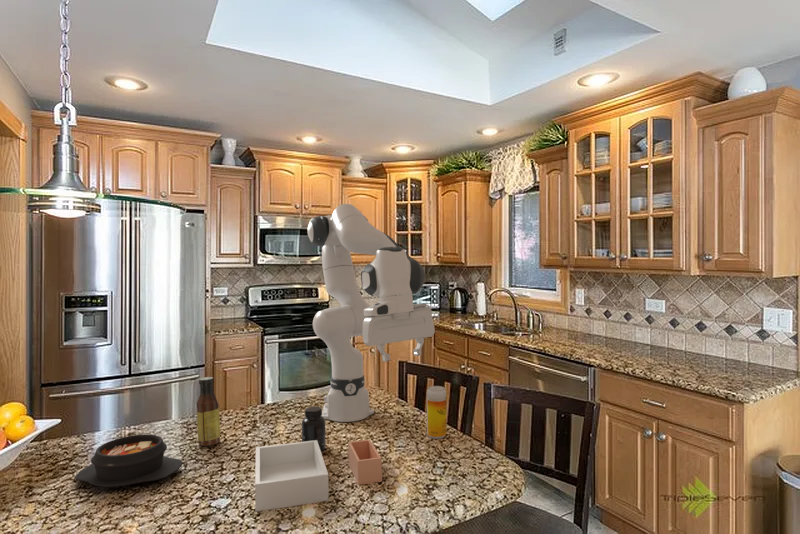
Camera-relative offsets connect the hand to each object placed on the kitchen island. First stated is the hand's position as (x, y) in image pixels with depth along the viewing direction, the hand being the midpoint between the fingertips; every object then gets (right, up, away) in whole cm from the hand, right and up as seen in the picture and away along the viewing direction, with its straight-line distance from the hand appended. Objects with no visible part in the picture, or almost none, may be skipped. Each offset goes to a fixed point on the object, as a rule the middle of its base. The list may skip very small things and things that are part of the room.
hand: (402, 358), depth 125 cm
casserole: (-70, -30, -4) cm, 76 cm away
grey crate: (-28, -29, -9) cm, 41 cm away
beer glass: (+11, -29, +22) cm, 38 cm away
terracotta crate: (-10, -29, -3) cm, 31 cm away
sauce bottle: (-59, -30, +18) cm, 68 cm away
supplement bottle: (-26, -29, +12) cm, 41 cm away
